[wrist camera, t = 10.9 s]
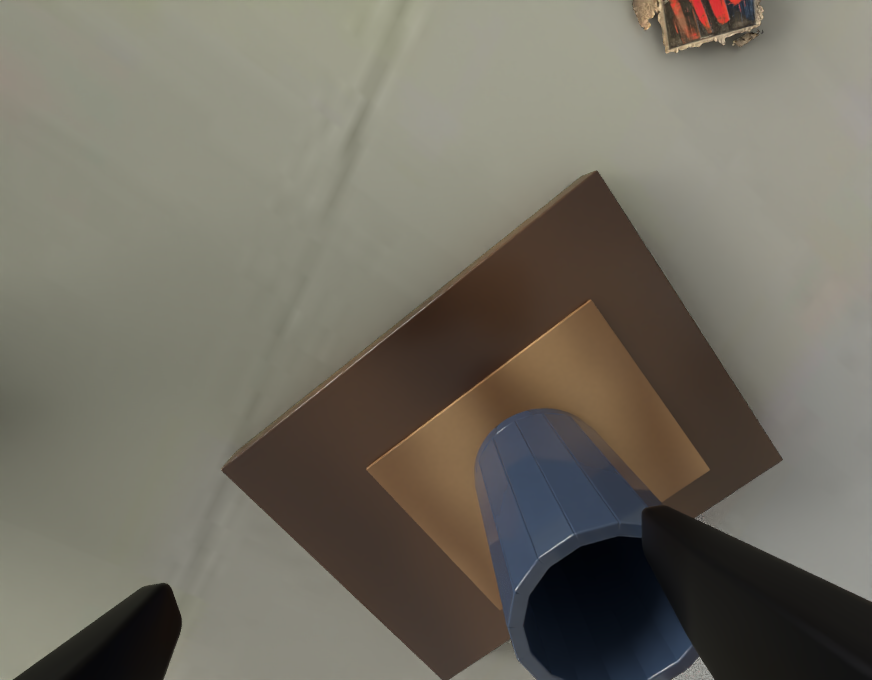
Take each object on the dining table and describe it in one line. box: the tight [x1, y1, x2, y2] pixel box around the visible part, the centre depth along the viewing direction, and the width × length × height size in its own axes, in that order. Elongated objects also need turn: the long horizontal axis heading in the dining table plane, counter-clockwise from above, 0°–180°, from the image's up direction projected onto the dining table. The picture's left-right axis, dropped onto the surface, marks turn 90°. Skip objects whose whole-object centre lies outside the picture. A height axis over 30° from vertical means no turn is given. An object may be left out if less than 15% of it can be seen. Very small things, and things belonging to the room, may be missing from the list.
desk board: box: [221, 170, 783, 680], centre depth 19 cm, size 20×16×2 cm
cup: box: [474, 408, 699, 680], centre depth 15 cm, size 6×6×8 cm
